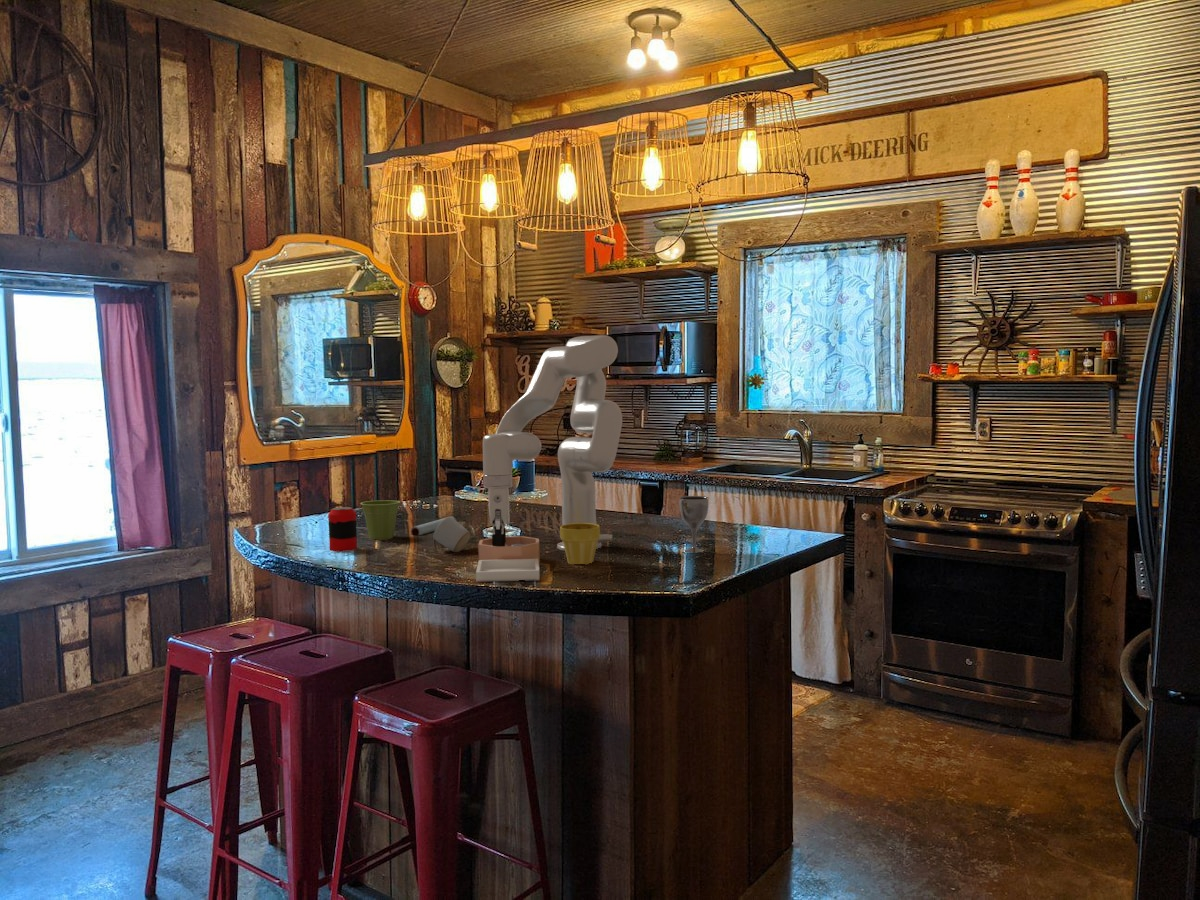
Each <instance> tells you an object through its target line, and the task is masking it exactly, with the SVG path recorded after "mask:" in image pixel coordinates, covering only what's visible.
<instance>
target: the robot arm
mask: <svg viewBox="0 0 1200 900" xmlns="http://www.w3.org/2000/svg"><path fill="white" fill-rule="evenodd" d="M618 353H619V349H618V344H617V342H616V340H614V338H613V337H611V336H609V335H604V334H603V335H599V334H598V335H581V336H580V335H579V336H575V337H572V338H570V339H569V340H567V342H566V344H565V346H553V347H549V348H547V349H545V351H543V353H542V355H541V357H540V359H539V361H538V363H537V366H536V368H535V371H534V372H533V375H532V378H531V380H530V382H529V384H528V386H527V389H526V391H525V393H524V394H523V395H522V396H521V397H520V398H519V399H517V401H516V402H515V403H513V404H512V405H511V407H510V408H509V409H508V410H507V411H506V413H504V415H503V416H502V418H501V419H500V422H499V424H498V426H497V429H496V430H495V431H496V432H495V433H491V434H486V435H484V436H483V438H482V469H483V470H482V477H483V478H482V479H483V482H482V483H483V488H485V489H487V496H488V497H487V498H488V512H489V513H488V514H489V523H490V526H492V535H491V538H492V546H505V542H506V537H507V536H506V534H507V533H506V532H507V531H506V528H505V527H506V526H509V525H510V491H509V488H512V487H513V461H523V462H524V461H526V462H527V461H531V460H533V459H535V458H537V457H538V456H539V455H540V453H541V450H542V442H541V440H540V438H539V437H538V436H537V435H535V434H534V433H531V432H526V431H523V429H524V428H525V427H526V426H527V425H528V423H529V422H530V421H532V420H533V419H535V418H536V417H539V416H541V415H543V414H544V413H546V412H547V411H548V412H549V410H550V409H552V408H554V407H555V405H556V403H557V400H558V398H559V395H560V393H561V390H562V388H563V386H564V383H565V381H566V379H567V378H575V379H576V387H575V392H574V397H573V401H572V402H573V403H572V406H571V412H570V417H569V419H570V426H571V428H572V429H573V430H574V431H576V432H578V433H582V434H592V436H591V437H588V436H571V437H568V438H565V439H564V440H563V441H562V442H561V443H560V444H559V447H558V449H557V461H558V467H559V471H560V477H561V478H560V479H561V513H562V515H561V516H562V517H561V521H562V525H564V524H570V523H593V524H597V518H596V515H597V513H596V512H597V511H596V503H597V502H596V501H597V500H596V483H595V479H594V476H593V473H605V472H607V471H608V470H610V469H611V468H612V466H613V465H614V462H615V460H616V456H617V451H618V446H619V442H620V438H621V437H620V436H621V431H622V427H623V413H622V411H621V407H620V406H619V405H618V404H617V403H616V402H614V401H613V400H609V399H606V391H607V380H606V376H605V374H604V372H603V370H602V369H604V368H607V367H609V366H610V365H612V364H613V363H614V362H615V360H616V359H617V357H618ZM505 525H506V526H505ZM562 525H561V526H562ZM602 542H613V534H606V533H605V534H604V533H602V534H601V533H600V538H599V539H598V540H597V545H596V549H597V550H599V549H598V548H600V549H601V548H602V546H603V545H602ZM556 545H557V546H556V548H557V550H560V551H565V548H564V544H563V541H562V542H558V543H557V544H556Z"/></svg>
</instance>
